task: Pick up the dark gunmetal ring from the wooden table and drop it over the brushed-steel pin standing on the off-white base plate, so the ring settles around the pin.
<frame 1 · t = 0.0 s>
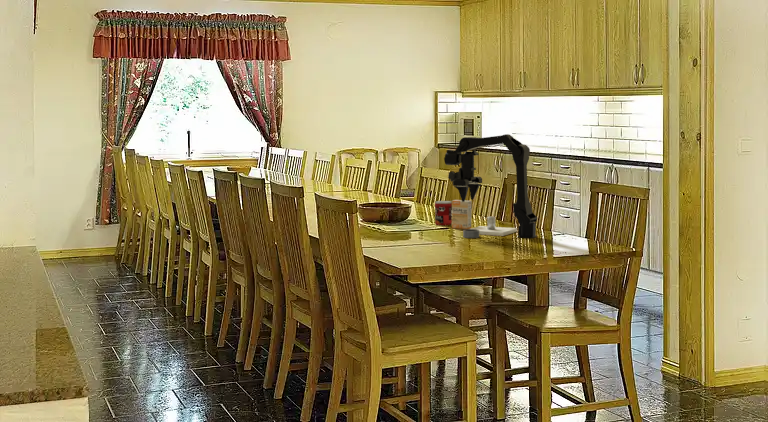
hand: (467, 200, 421), 15 cm above the table, fingers open, 9 cm apart
base plate: (491, 232, 425), on the table
supplement box: (461, 228, 440), on the table
gunmetal ring: (471, 237, 411), on the table
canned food: (443, 224, 455), on the table
steel pin: (491, 229, 425), resting on base plate
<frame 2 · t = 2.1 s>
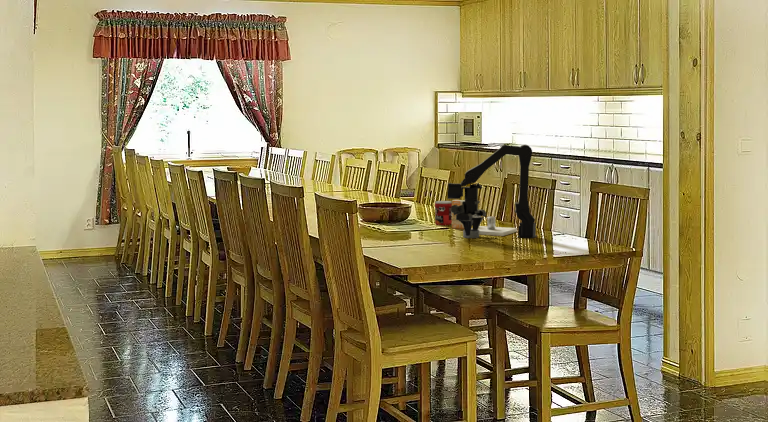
hand: (471, 234, 411), 1 cm above the table, fingers closed on gunmetal ring, 7 cm apart
gunmetal ring: (471, 237, 411), on the table, touching gripper
everything else where it was.
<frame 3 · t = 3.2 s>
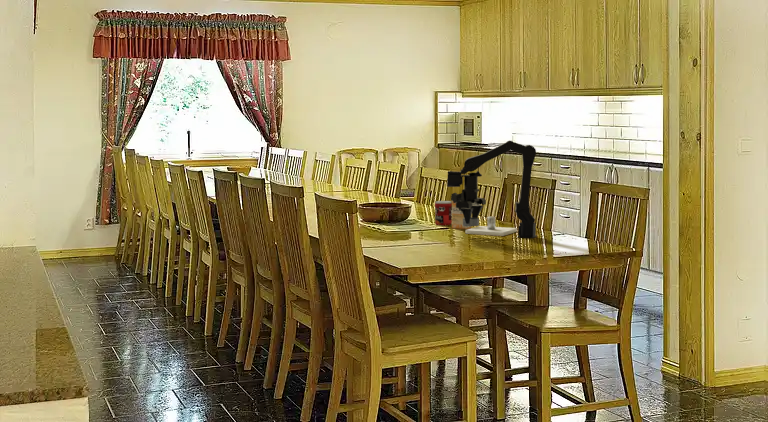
hand: (470, 222, 411), 6 cm above the table, fingers closed on gunmetal ring, 7 cm apart
gunmetal ring: (470, 225, 411), point 5 cm above the table, touching gripper
everything else where it was.
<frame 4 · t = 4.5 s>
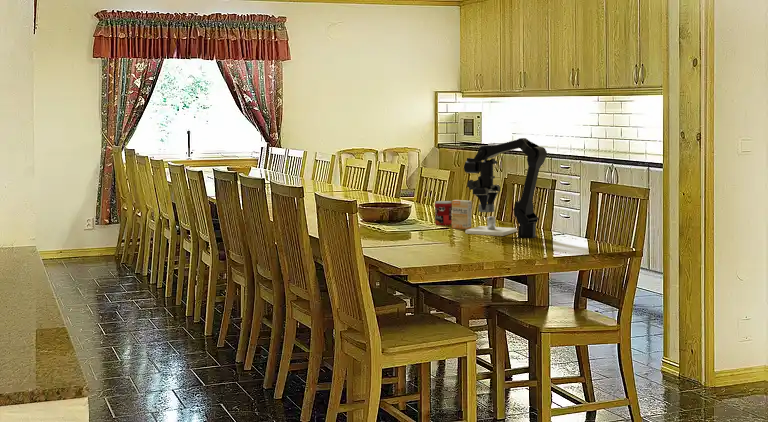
hand: (486, 209, 421), 11 cm above the table, fingers closed on gunmetal ring, 7 cm apart
gunmetal ring: (486, 211, 421), point 10 cm above the table, touching gripper
everything else where it was.
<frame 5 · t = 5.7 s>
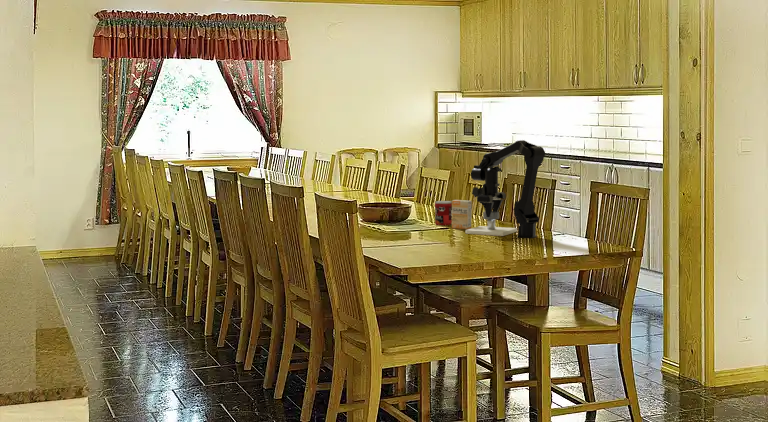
hand: (491, 216, 424), 7 cm above the table, fingers closed on gunmetal ring, 7 cm apart
gunmetal ring: (491, 218, 424), point 6 cm above the table, touching gripper
everything else where it was.
when the fingers open (4 cm above the table, at t = 6.9 s): gunmetal ring drops 2 cm, resting on base plate.
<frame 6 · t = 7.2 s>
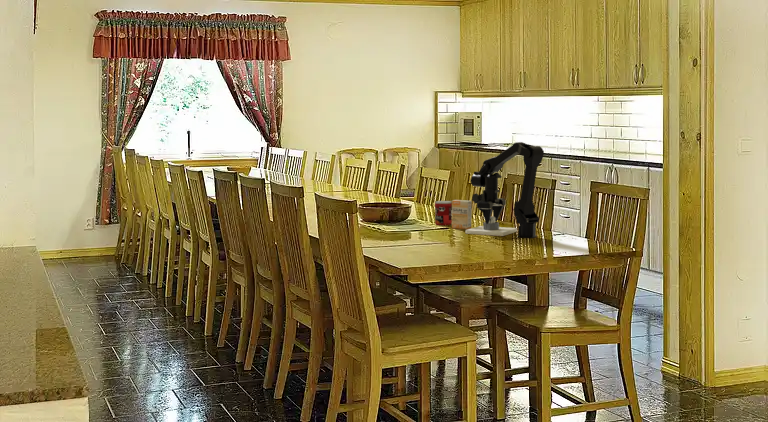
hand: (491, 222, 424), 4 cm above the table, fingers open, 9 cm apart
gunmetal ring: (491, 229, 425), point 1 cm above the table, touching base plate
everything else where it was.
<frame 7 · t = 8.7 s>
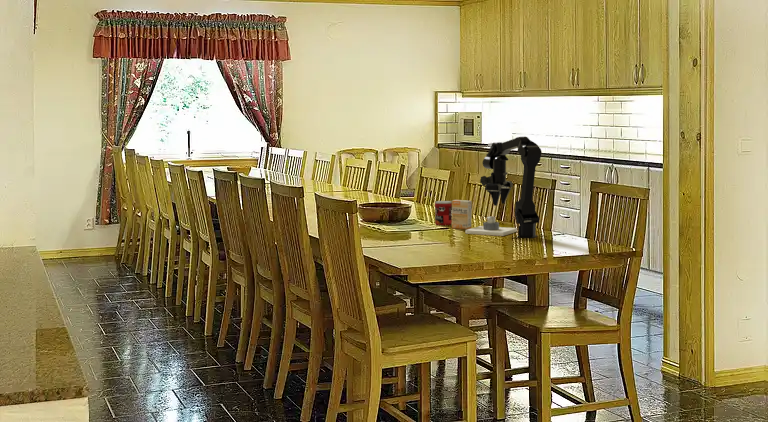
hand: (499, 204, 428), 12 cm above the table, fingers open, 9 cm apart
nothing on the table moved.
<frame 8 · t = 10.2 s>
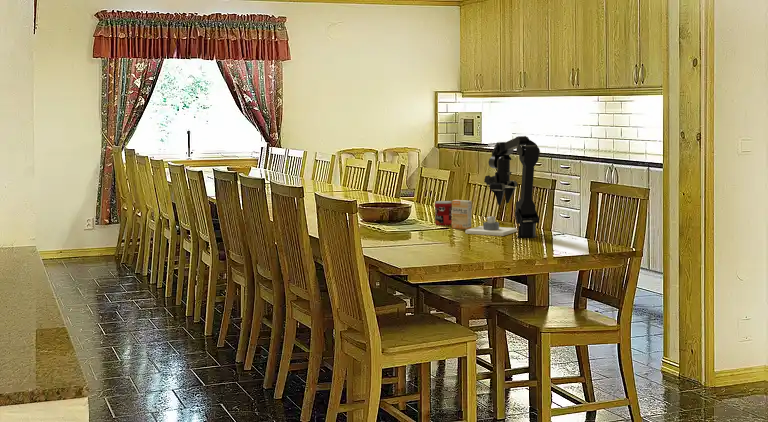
hand: (503, 204, 430), 12 cm above the table, fingers open, 9 cm apart
nothing on the table moved.
at the end: gunmetal ring 0.1 cm from the steel pin (horizontally); gunmetal ring point 1.5 cm above the table; the gripper is holding nothing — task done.
